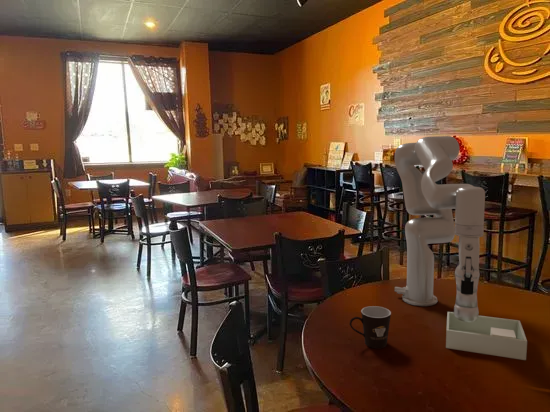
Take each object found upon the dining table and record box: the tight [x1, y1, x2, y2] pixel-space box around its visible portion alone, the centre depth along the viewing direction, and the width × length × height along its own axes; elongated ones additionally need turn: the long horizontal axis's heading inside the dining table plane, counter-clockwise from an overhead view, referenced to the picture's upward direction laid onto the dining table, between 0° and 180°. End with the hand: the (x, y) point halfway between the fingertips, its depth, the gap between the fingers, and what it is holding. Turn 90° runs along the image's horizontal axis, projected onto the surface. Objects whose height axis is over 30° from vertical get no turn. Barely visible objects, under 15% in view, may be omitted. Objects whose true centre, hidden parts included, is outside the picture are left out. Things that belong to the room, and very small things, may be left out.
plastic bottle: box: [453, 263, 480, 322], centre depth 122 cm, size 6×7×20 cm
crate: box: [445, 311, 528, 361], centre depth 122 cm, size 20×14×6 cm
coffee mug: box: [349, 305, 392, 349], centre depth 125 cm, size 12×9×10 cm
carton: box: [490, 327, 516, 339], centre depth 120 cm, size 6×5×4 cm
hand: (466, 289), depth 122 cm, fingers closed on plastic bottle, 6 cm apart
